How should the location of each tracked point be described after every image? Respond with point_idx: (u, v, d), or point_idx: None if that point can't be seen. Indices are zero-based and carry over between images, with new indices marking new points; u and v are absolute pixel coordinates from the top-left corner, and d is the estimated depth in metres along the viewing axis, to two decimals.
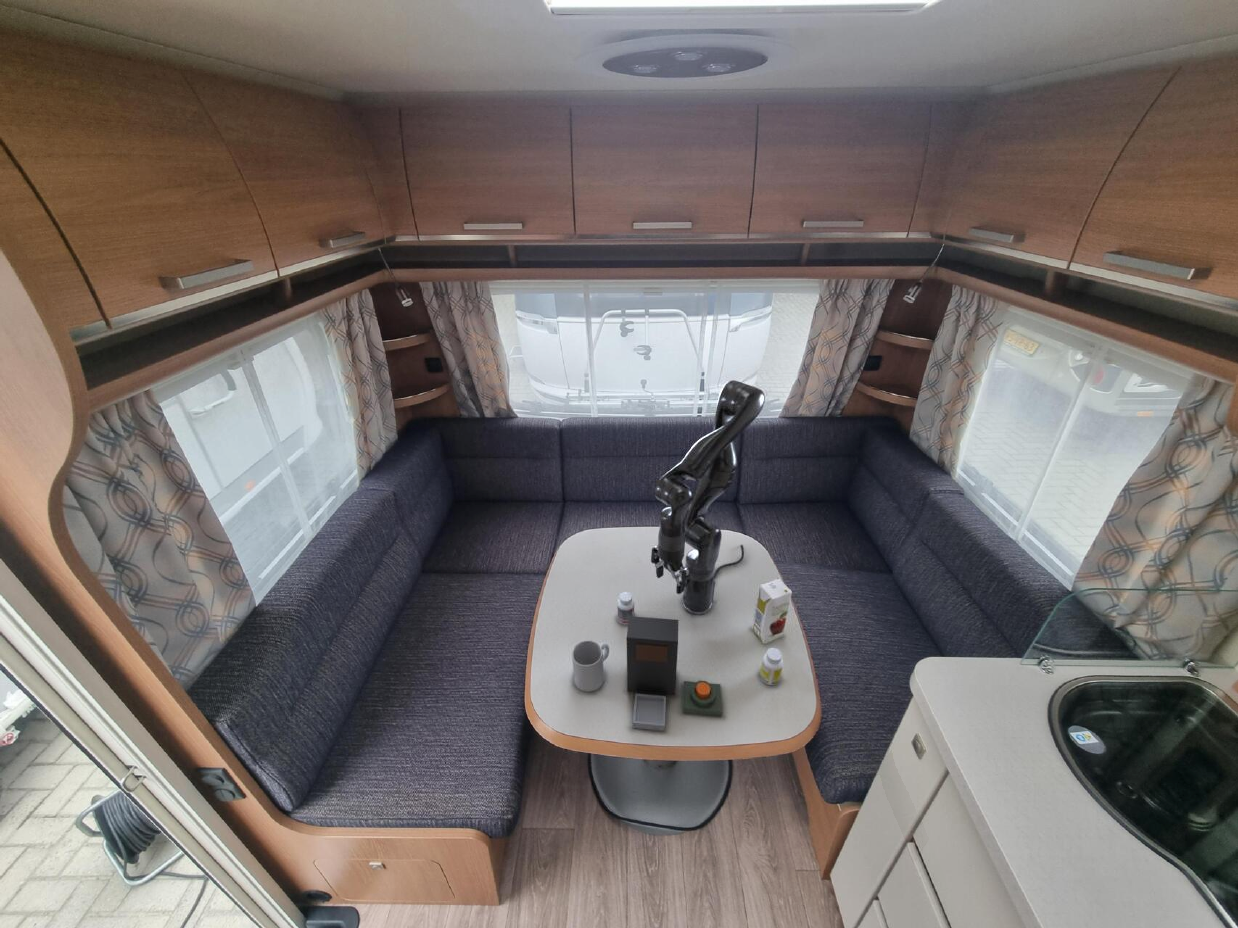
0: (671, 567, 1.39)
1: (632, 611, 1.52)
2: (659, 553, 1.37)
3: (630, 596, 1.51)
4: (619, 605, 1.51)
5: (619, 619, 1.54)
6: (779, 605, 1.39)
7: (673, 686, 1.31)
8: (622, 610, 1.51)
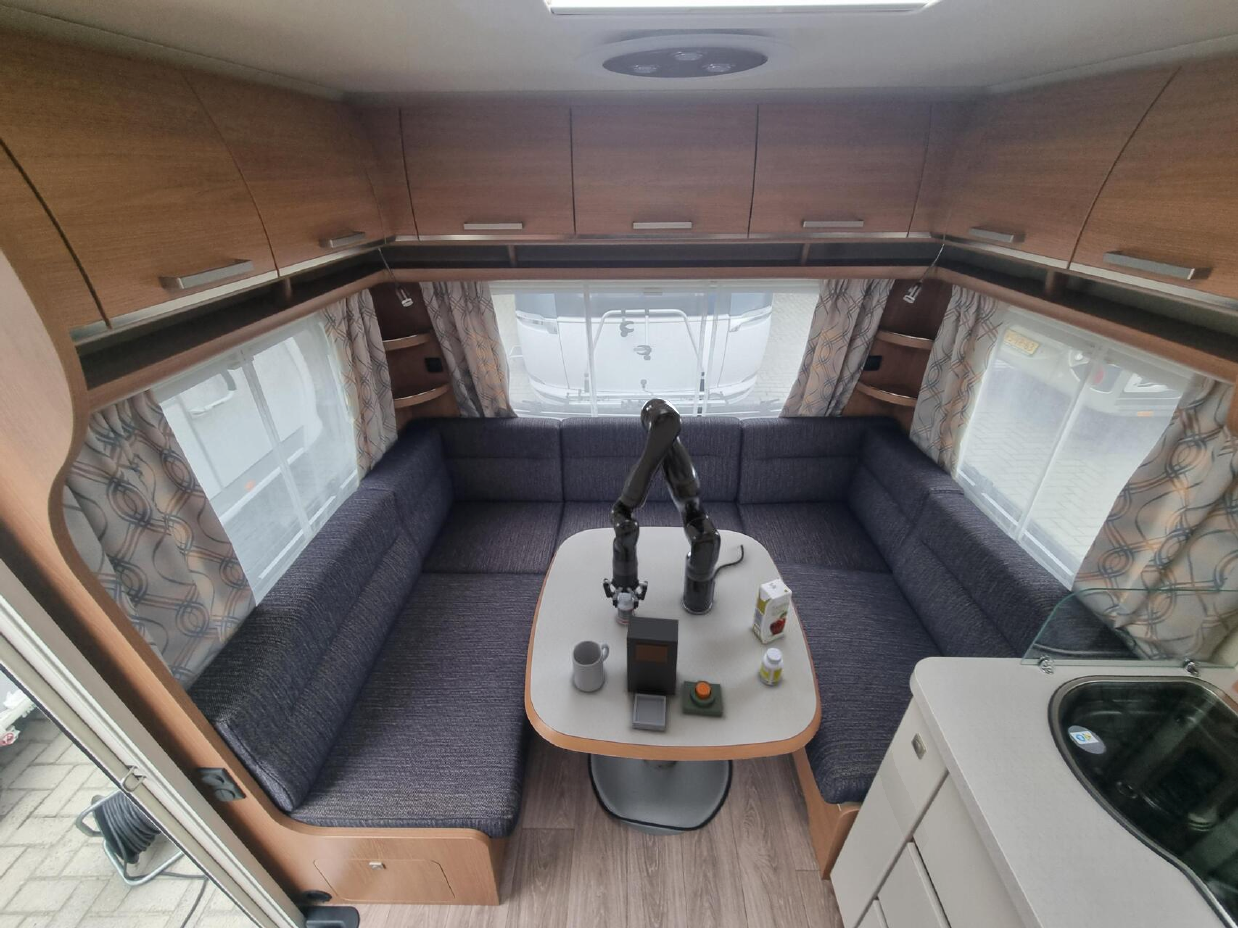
0: None
1: (632, 611, 1.52)
2: None
3: (630, 596, 1.51)
4: (619, 605, 1.51)
5: (619, 619, 1.54)
6: (779, 605, 1.39)
7: (673, 686, 1.31)
8: (622, 610, 1.51)
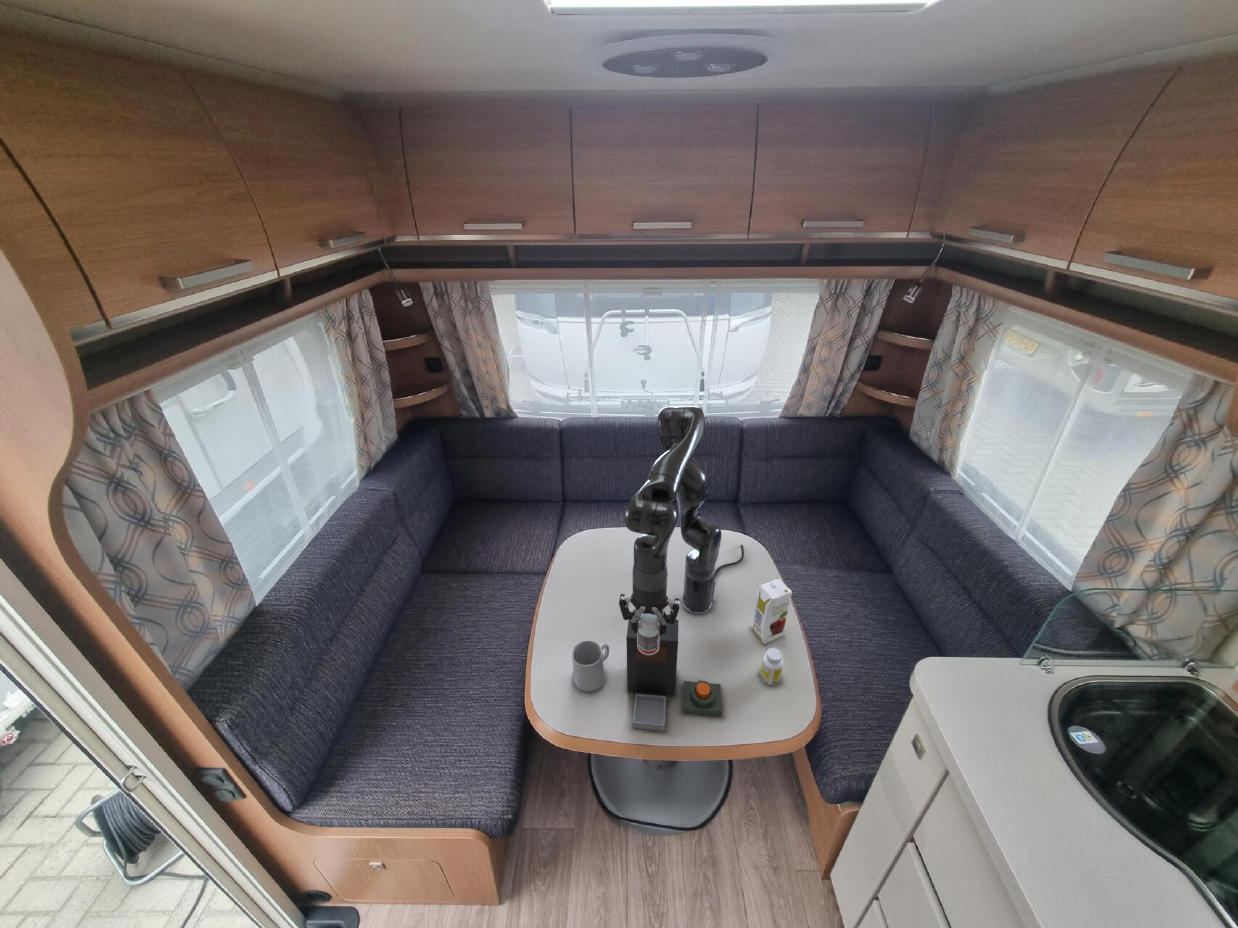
0: None
1: (657, 638, 1.13)
2: None
3: (655, 618, 1.12)
4: (640, 630, 1.12)
5: (640, 648, 1.15)
6: (779, 605, 1.39)
7: (673, 686, 1.31)
8: (644, 637, 1.12)
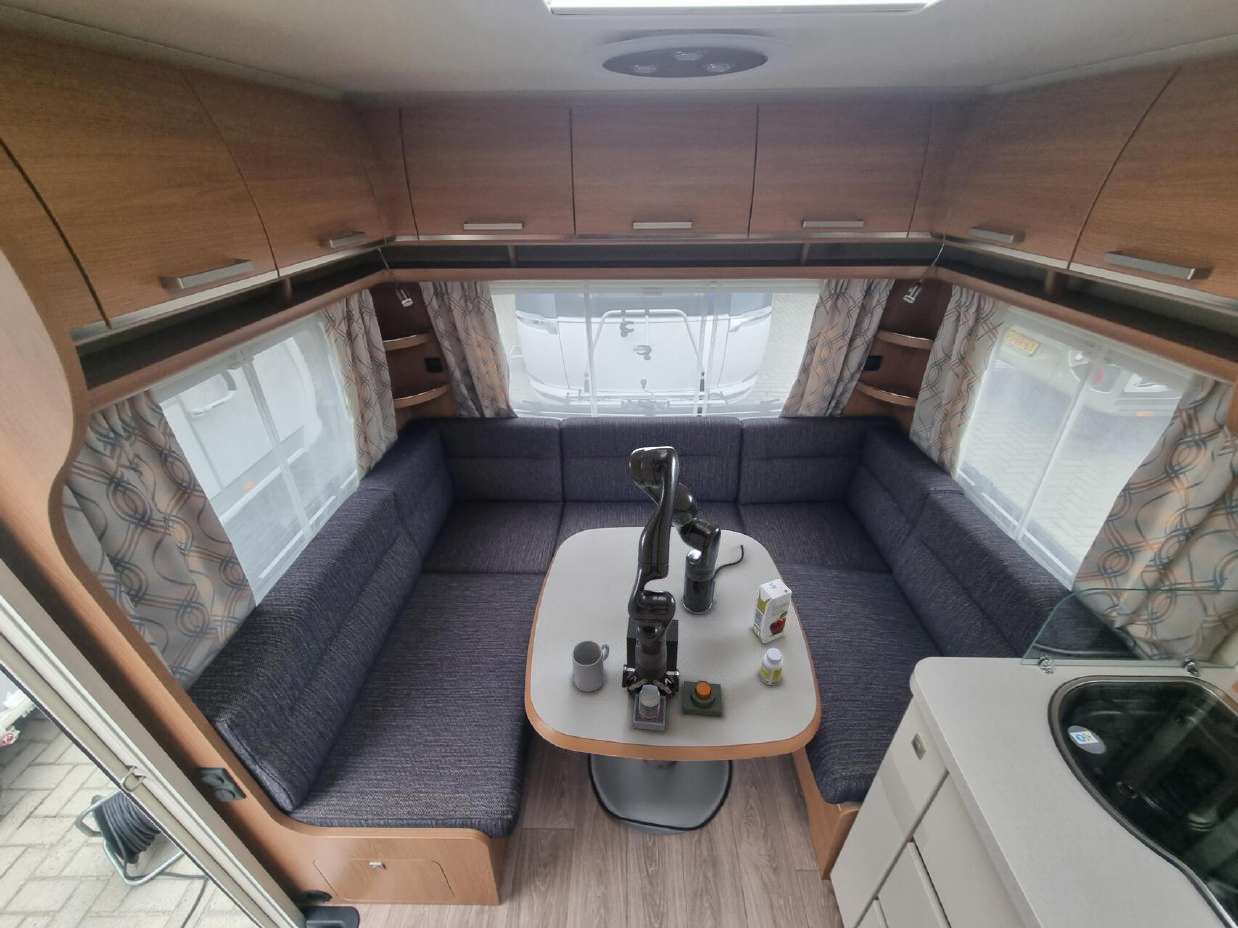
0: None
1: (658, 706, 1.24)
2: None
3: (655, 688, 1.23)
4: (642, 699, 1.23)
5: (641, 714, 1.26)
6: (779, 605, 1.39)
7: None
8: (646, 706, 1.23)
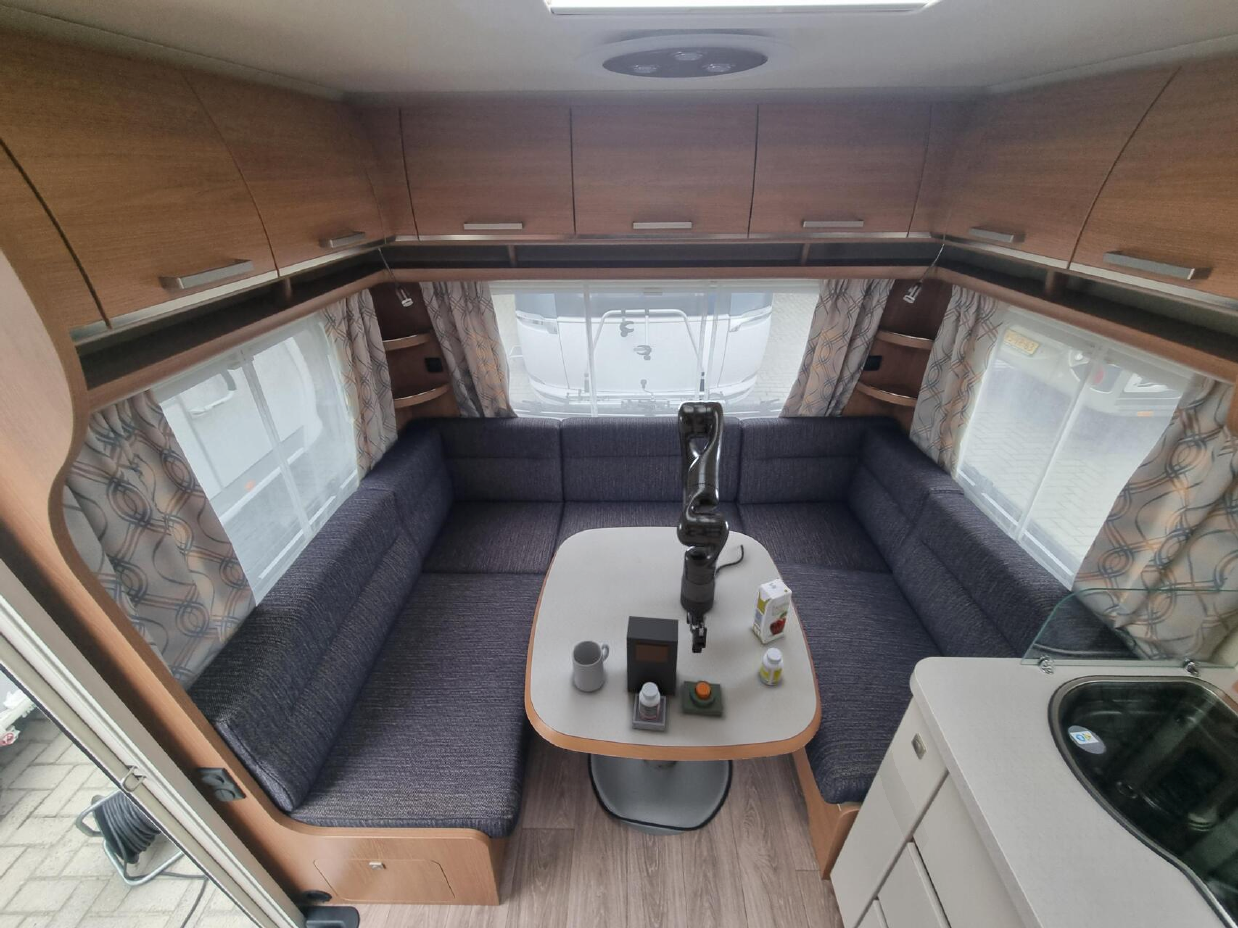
0: None
1: (658, 706, 1.24)
2: (713, 599, 1.10)
3: (655, 688, 1.23)
4: (642, 699, 1.23)
5: (641, 714, 1.26)
6: (779, 605, 1.39)
7: (673, 686, 1.31)
8: (646, 706, 1.23)
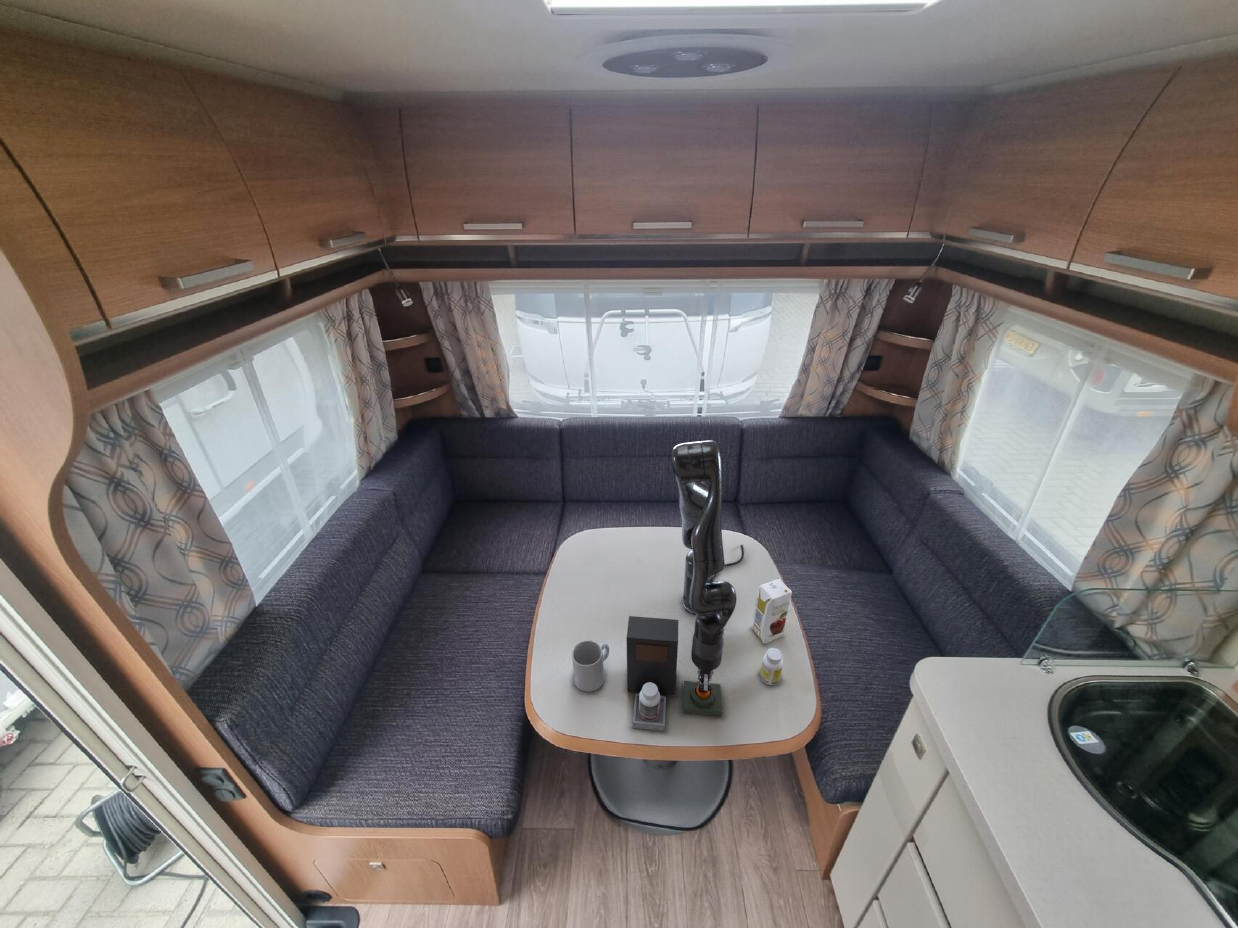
0: None
1: (658, 706, 1.24)
2: (721, 658, 1.20)
3: (655, 688, 1.23)
4: (642, 699, 1.23)
5: (641, 714, 1.26)
6: (779, 605, 1.39)
7: (673, 686, 1.31)
8: (646, 706, 1.23)
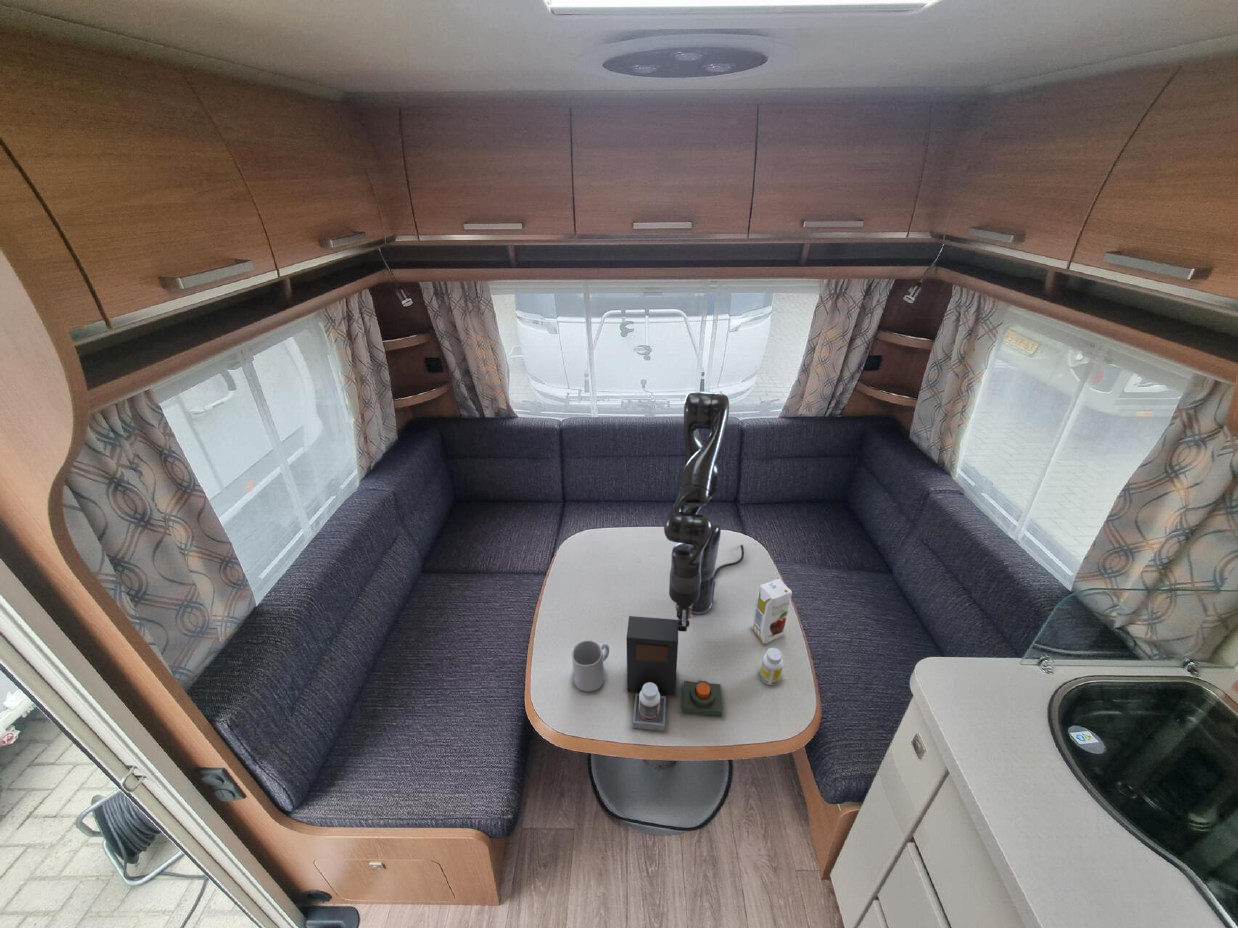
0: None
1: (658, 706, 1.24)
2: (699, 593, 1.19)
3: (655, 688, 1.23)
4: (642, 699, 1.23)
5: (641, 714, 1.26)
6: (779, 605, 1.39)
7: (673, 686, 1.31)
8: (646, 706, 1.23)
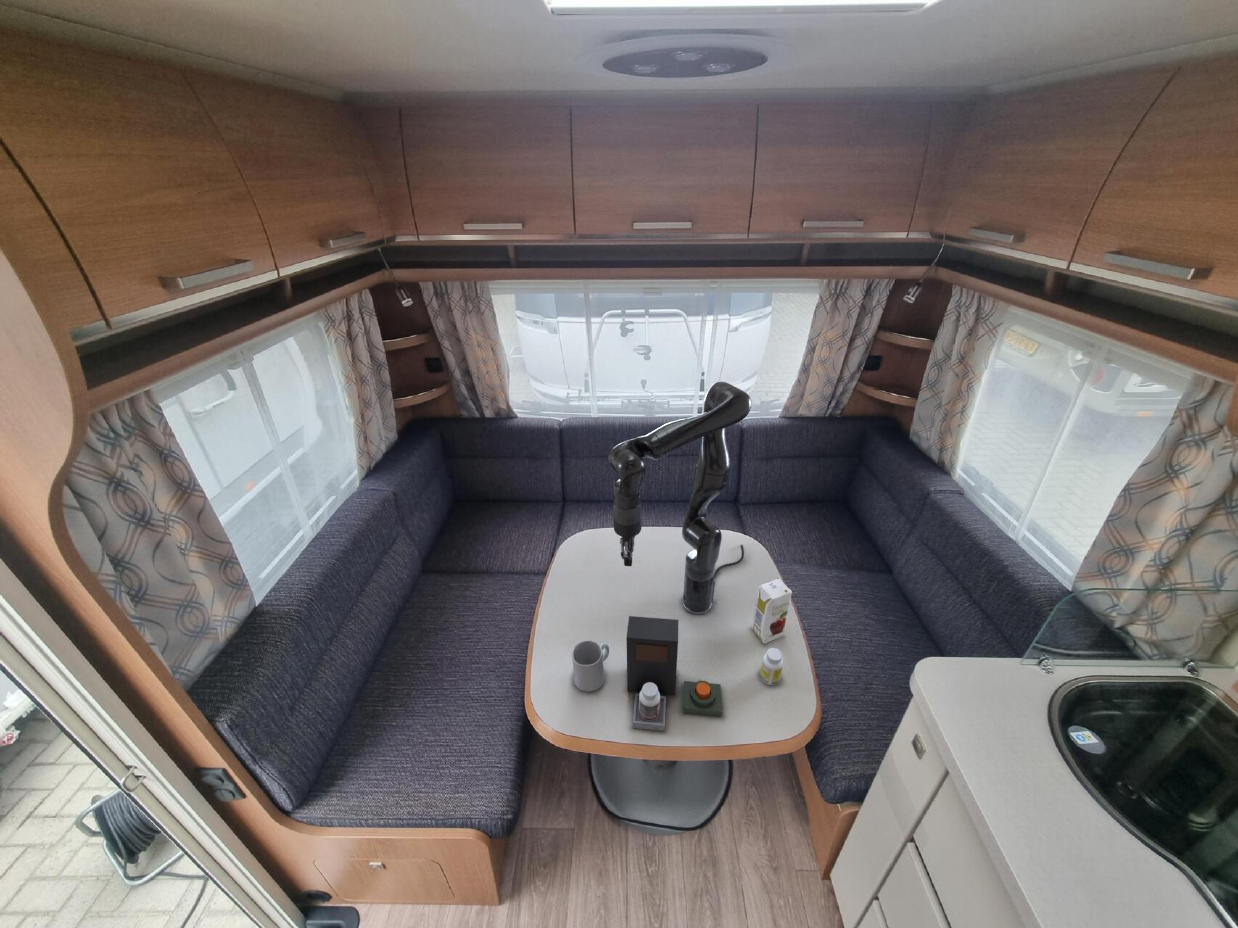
0: None
1: (658, 706, 1.24)
2: (640, 527, 1.30)
3: (655, 688, 1.23)
4: (642, 699, 1.23)
5: (641, 714, 1.26)
6: (779, 605, 1.39)
7: (673, 686, 1.31)
8: (646, 706, 1.23)
